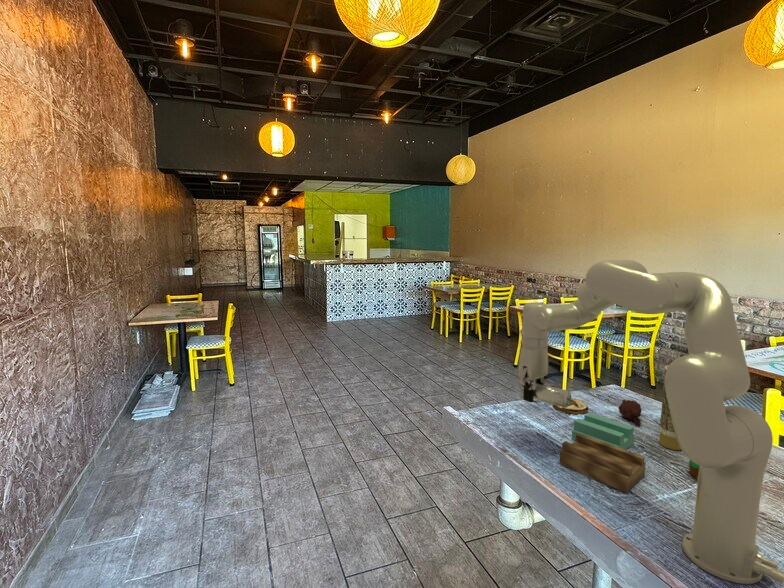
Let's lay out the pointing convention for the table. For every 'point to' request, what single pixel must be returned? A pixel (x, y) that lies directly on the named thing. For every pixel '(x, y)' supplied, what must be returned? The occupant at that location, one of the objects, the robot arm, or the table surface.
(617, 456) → the wooden channel block
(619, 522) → the table surface
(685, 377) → the robot arm
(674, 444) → the bark patterned canister
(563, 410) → the tan round flat disc
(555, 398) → the axle
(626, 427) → the v block
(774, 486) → the table surface
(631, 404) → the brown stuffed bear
